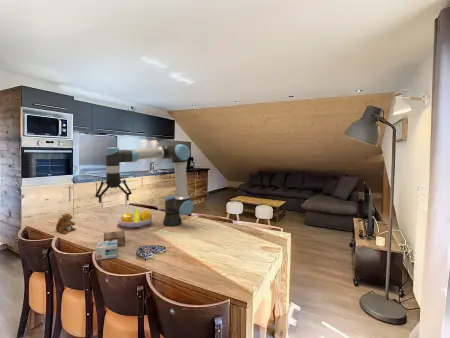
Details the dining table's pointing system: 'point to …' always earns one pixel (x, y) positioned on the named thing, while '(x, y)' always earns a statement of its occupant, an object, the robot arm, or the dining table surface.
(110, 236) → the walnut step
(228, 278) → the dining table surface
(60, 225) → the stuffed squirrel
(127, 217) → the fruit bowl
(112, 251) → the light bulb box
